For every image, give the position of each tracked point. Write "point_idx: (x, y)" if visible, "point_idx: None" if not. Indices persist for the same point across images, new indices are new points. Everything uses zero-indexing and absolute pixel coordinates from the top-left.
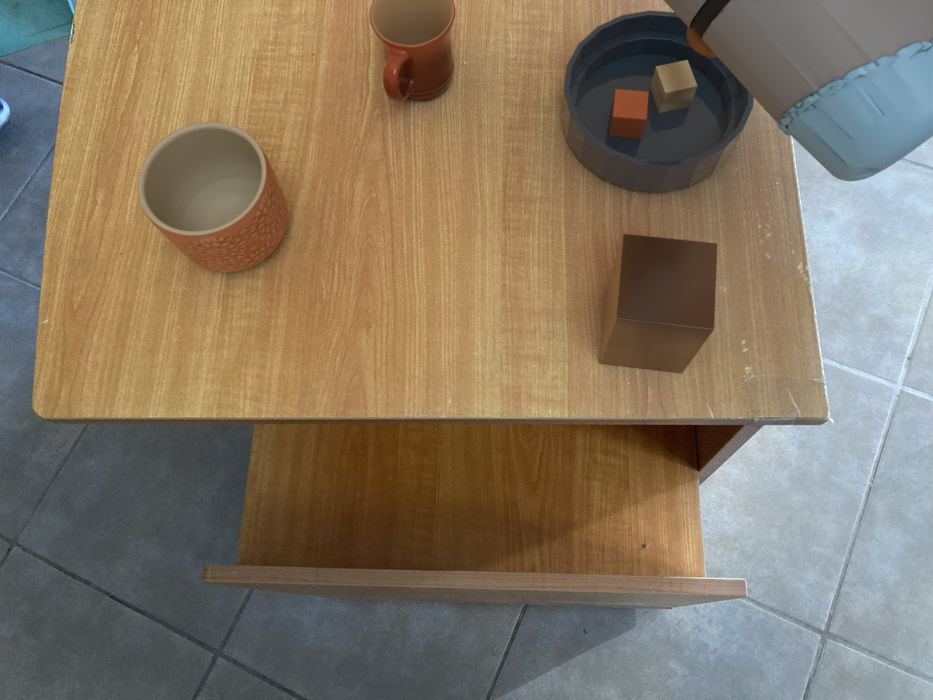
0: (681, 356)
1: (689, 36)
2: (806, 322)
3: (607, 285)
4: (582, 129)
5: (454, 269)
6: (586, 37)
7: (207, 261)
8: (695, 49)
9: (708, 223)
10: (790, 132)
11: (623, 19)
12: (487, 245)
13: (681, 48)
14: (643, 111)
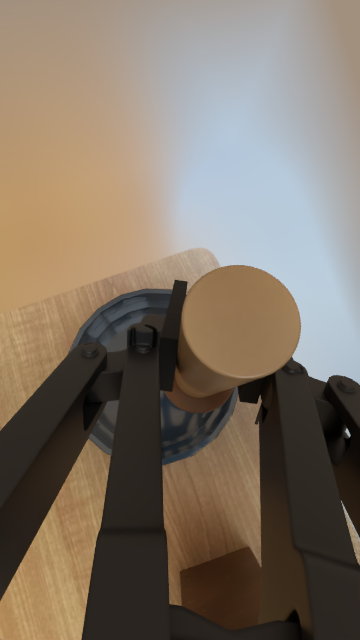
0: None
1: (168, 398)
2: (348, 522)
3: (180, 578)
4: (100, 447)
5: (33, 620)
6: (73, 343)
7: None
8: (181, 409)
9: (238, 458)
10: None
11: (101, 312)
12: (57, 574)
13: (159, 309)
14: None
